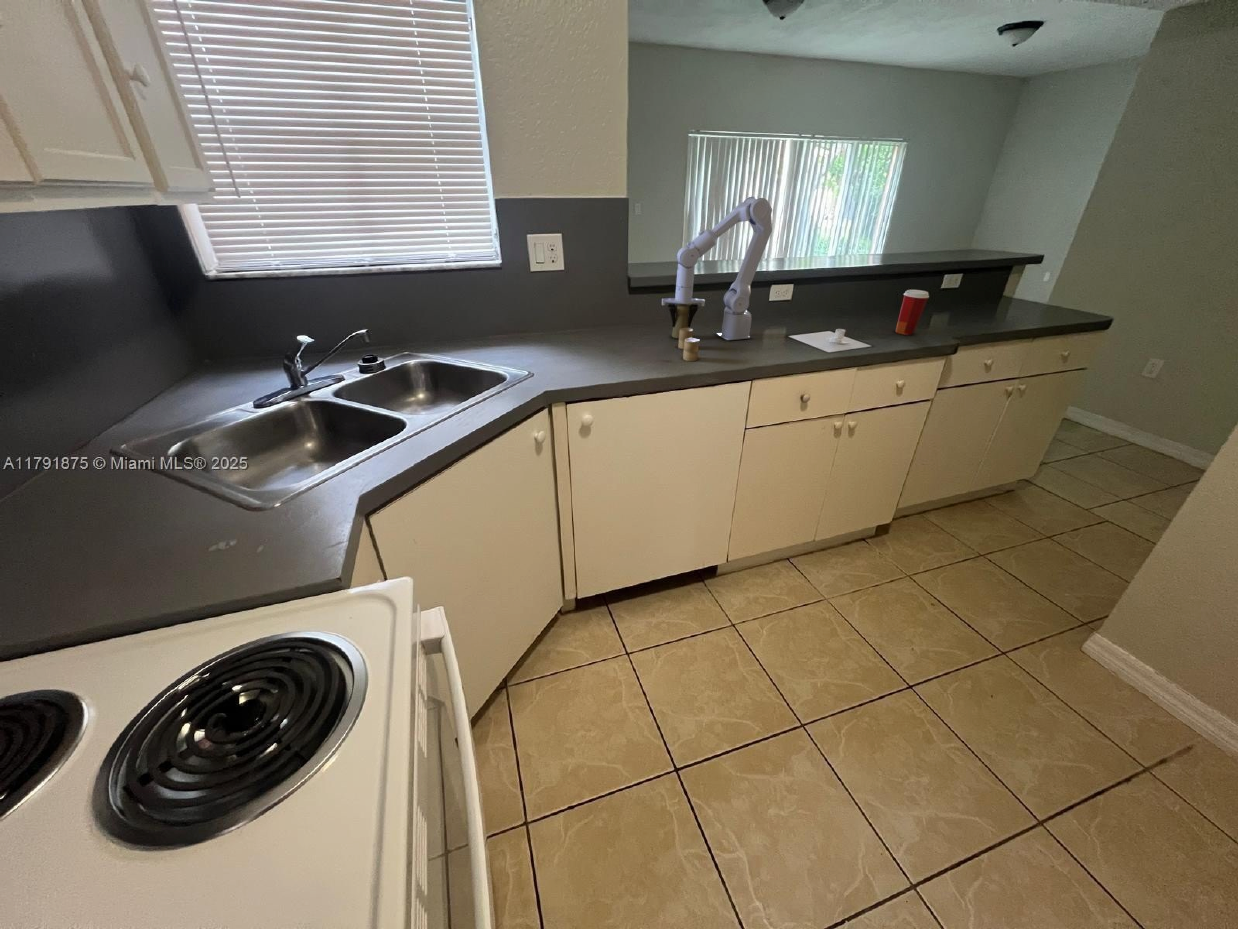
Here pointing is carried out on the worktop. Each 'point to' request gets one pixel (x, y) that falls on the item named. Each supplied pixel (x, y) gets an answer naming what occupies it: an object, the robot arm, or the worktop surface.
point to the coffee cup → (911, 311)
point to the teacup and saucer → (830, 341)
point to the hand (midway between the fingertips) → (681, 326)
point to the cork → (680, 319)
